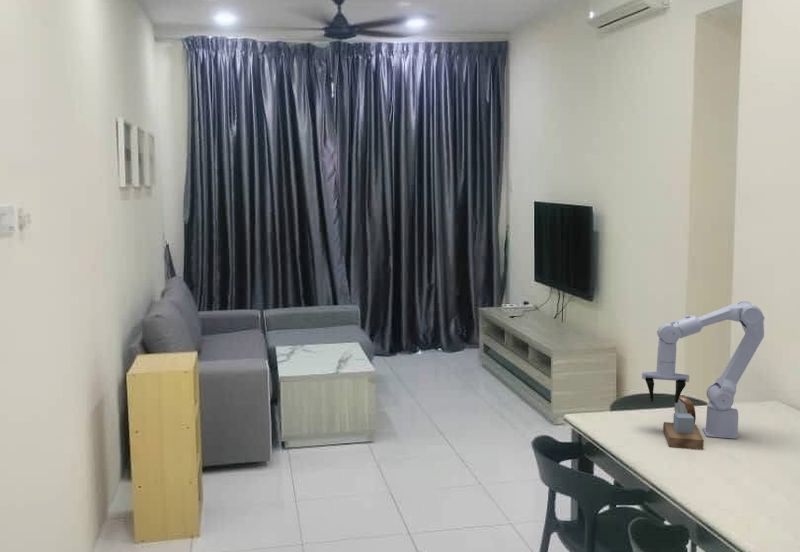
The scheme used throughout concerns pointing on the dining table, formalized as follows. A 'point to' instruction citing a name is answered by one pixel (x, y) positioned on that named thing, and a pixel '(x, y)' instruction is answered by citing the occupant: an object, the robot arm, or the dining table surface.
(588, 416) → the dining table surface
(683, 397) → the tin
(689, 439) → the plinth
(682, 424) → the block
